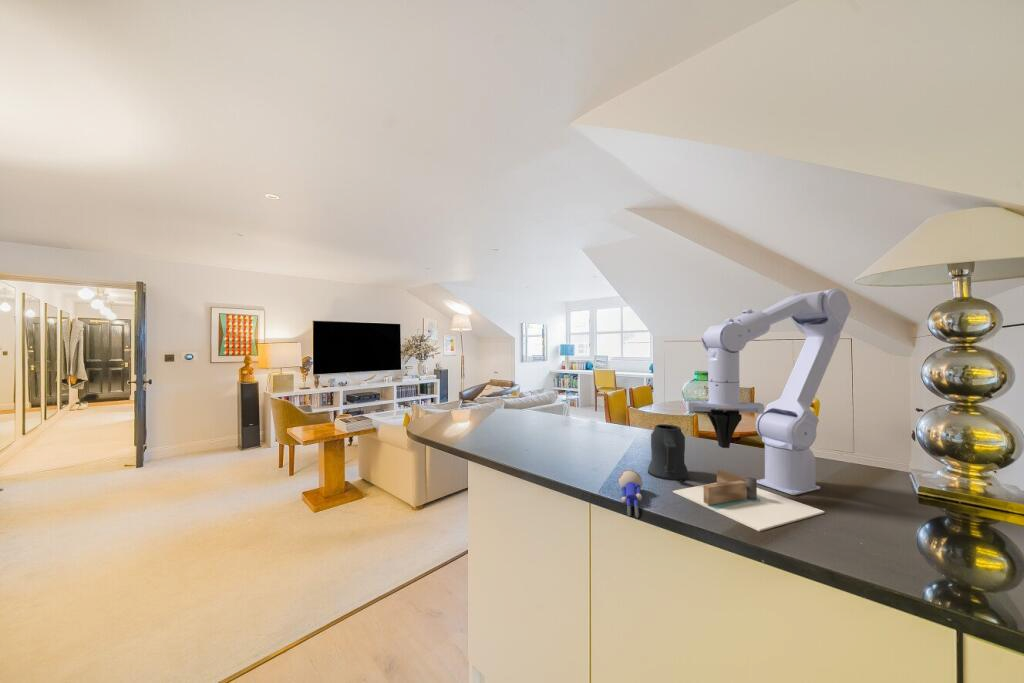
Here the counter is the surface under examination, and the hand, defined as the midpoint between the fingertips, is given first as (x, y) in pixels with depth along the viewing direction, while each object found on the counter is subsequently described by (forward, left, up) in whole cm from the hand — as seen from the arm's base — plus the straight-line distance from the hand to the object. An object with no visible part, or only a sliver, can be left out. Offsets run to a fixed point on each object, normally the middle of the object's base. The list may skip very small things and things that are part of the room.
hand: (723, 446), depth 78 cm
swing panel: (+5, +4, -9) cm, 11 cm away
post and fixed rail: (-1, +2, -9) cm, 10 cm away
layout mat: (+1, +5, -9) cm, 11 cm away
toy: (+21, -3, -10) cm, 23 cm away
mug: (+3, -12, -10) cm, 16 cm away
